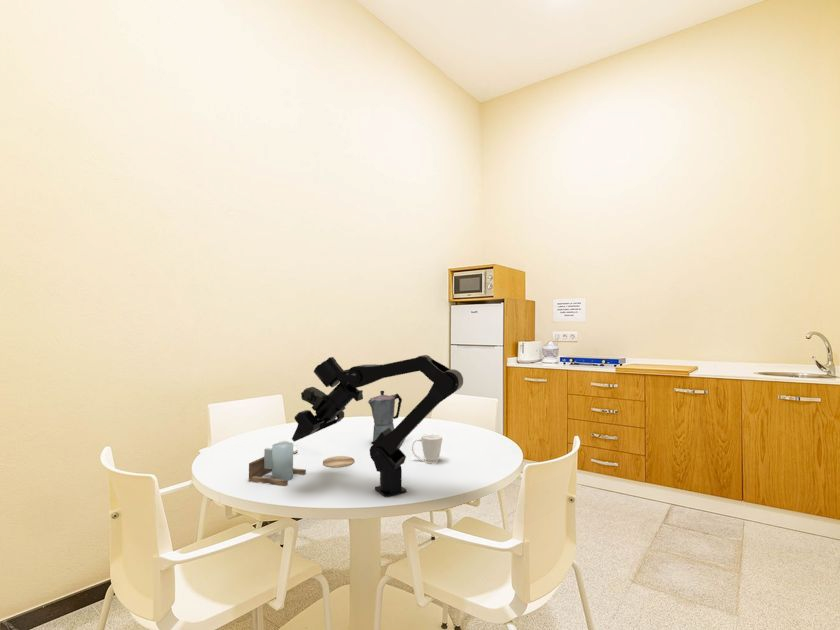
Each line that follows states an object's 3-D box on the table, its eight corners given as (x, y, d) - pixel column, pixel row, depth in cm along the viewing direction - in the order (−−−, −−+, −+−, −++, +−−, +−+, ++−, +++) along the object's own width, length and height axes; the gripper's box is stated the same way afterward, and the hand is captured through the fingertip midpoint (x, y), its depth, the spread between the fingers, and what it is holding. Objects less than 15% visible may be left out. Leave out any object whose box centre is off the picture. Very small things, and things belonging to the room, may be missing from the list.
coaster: (359, 464, 134) (359, 462, 134) (329, 469, 129) (329, 467, 129) (347, 456, 143) (347, 454, 143) (318, 460, 137) (318, 459, 137)
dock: (305, 473, 125) (306, 456, 125) (285, 485, 115) (285, 467, 116) (271, 469, 129) (271, 453, 129) (248, 481, 119) (249, 463, 119)
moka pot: (360, 445, 156) (361, 390, 157) (392, 437, 167) (392, 387, 168) (376, 450, 149) (377, 393, 150) (408, 442, 160) (408, 389, 161)
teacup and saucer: (301, 453, 147) (301, 442, 147) (280, 458, 141) (280, 446, 141) (288, 449, 153) (288, 437, 153) (267, 453, 147) (267, 441, 147)
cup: (441, 465, 133) (441, 439, 133) (410, 464, 134) (410, 438, 135) (443, 458, 140) (443, 434, 140) (413, 457, 141) (413, 433, 142)
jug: (296, 475, 124) (297, 443, 124) (285, 482, 118) (285, 448, 118) (271, 472, 126) (272, 440, 126) (258, 479, 120) (259, 445, 121)
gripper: (335, 374, 128) (303, 409, 131) (301, 382, 110) (264, 421, 113) (359, 402, 126) (325, 436, 128) (328, 414, 108) (289, 453, 111)
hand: (302, 436), depth 120 cm, fingers open, 9 cm apart
